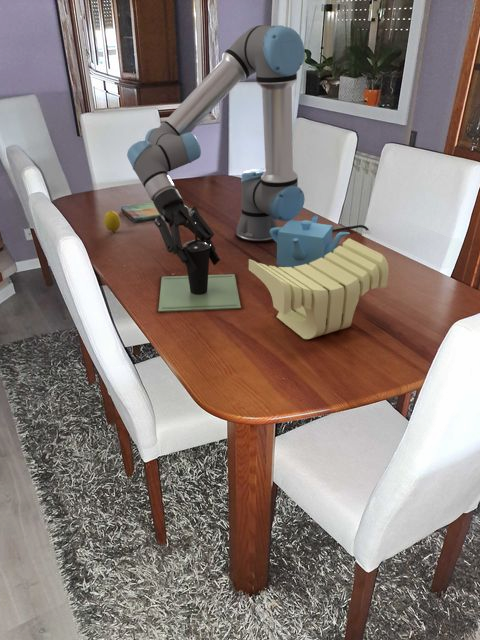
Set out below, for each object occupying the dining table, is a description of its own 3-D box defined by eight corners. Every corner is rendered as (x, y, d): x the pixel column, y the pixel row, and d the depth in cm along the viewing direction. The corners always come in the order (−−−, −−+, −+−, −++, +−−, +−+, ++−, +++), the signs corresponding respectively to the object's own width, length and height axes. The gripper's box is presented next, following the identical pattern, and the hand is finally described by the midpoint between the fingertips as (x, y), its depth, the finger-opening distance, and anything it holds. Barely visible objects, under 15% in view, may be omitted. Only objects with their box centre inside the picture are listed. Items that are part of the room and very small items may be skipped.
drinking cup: (180, 294, 147) (175, 225, 136) (192, 283, 153) (189, 216, 142) (205, 299, 145) (202, 229, 134) (216, 288, 151) (214, 220, 140)
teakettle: (264, 261, 169) (265, 216, 161) (315, 252, 175) (318, 209, 168) (292, 284, 154) (294, 236, 147) (346, 273, 161) (351, 227, 153)
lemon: (117, 235, 189) (115, 213, 184) (103, 234, 189) (100, 212, 185) (123, 230, 193) (121, 208, 189) (109, 229, 194) (106, 207, 190)
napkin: (234, 275, 159) (234, 273, 159) (240, 308, 141) (240, 307, 141) (161, 277, 158) (161, 276, 157) (158, 312, 139) (158, 310, 139)
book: (190, 213, 210) (190, 207, 209) (135, 223, 200) (134, 216, 198) (173, 202, 222) (173, 196, 221) (120, 211, 212) (119, 205, 211)
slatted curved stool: (281, 353, 122) (285, 284, 112) (248, 324, 134) (248, 258, 124) (380, 323, 134) (390, 258, 125) (341, 299, 146) (348, 238, 137)
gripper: (187, 195, 153) (226, 262, 152) (128, 210, 140) (170, 283, 139) (198, 180, 147) (239, 250, 146) (138, 194, 134) (182, 271, 133)
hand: (205, 266), depth 142 cm, fingers closed on drinking cup, 8 cm apart
